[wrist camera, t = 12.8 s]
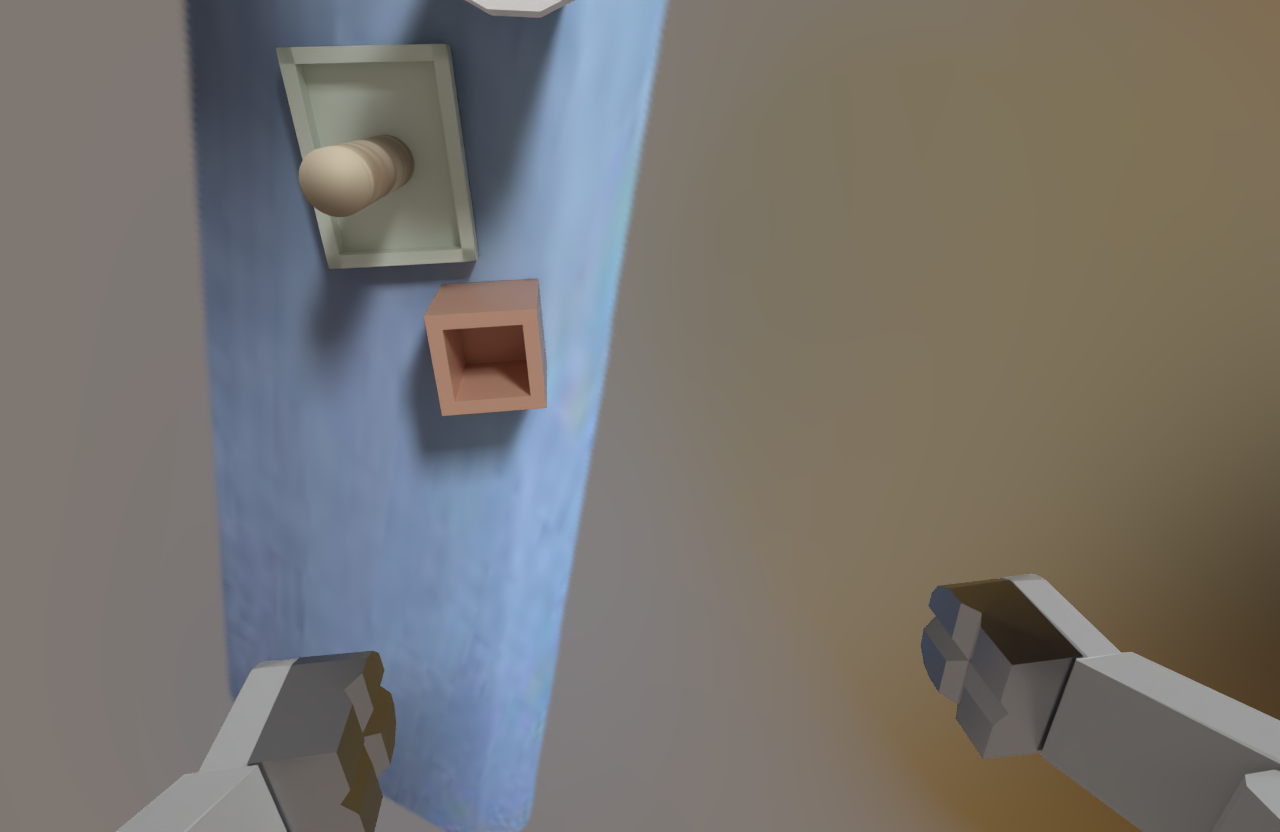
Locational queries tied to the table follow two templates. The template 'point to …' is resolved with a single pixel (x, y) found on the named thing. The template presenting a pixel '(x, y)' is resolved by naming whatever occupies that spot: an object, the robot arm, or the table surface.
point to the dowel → (354, 174)
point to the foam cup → (519, 7)
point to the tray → (397, 106)
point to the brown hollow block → (488, 346)
